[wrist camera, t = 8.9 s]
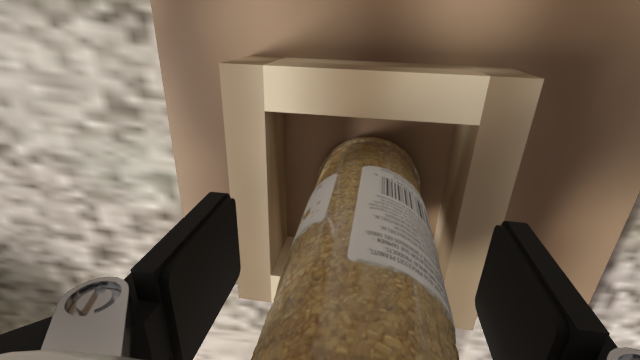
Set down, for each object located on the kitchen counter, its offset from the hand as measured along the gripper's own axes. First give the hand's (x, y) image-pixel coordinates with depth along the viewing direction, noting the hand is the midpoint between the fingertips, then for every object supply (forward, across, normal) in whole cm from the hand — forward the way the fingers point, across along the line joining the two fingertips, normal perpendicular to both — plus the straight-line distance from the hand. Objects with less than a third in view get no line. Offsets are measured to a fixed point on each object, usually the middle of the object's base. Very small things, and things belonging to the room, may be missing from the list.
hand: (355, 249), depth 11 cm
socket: (+5, 0, 0) cm, 5 cm away
